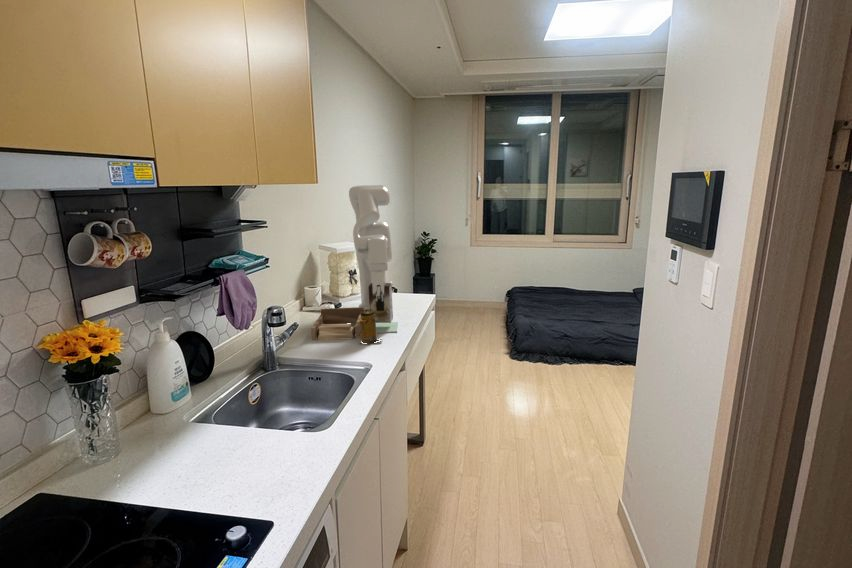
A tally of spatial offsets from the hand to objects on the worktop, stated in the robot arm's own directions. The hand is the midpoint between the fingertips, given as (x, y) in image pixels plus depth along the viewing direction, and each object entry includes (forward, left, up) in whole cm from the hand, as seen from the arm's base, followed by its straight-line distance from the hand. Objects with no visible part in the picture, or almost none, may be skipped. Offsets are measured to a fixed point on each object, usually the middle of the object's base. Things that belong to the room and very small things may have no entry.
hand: (381, 307), depth 187 cm
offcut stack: (+9, -18, -9) cm, 22 cm away
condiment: (+16, -3, -9) cm, 18 cm away
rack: (+1, -18, -9) cm, 20 cm away
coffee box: (0, 0, -6) cm, 6 cm away
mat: (0, 0, -9) cm, 9 cm away
